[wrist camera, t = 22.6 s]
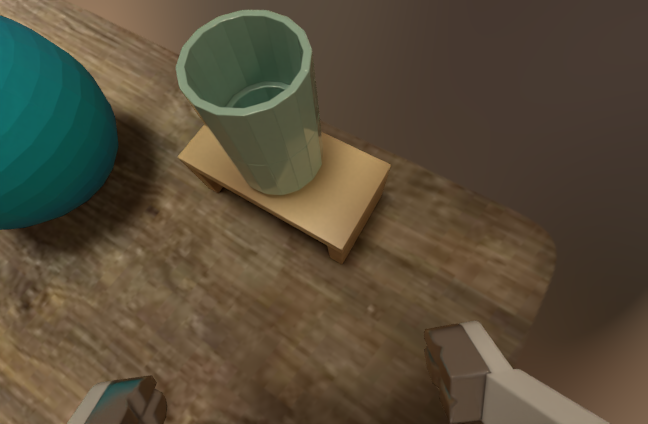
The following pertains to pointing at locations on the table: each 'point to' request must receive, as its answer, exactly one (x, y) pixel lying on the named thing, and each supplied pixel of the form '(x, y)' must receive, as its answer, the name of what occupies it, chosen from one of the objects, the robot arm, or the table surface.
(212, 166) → the shelf
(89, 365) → the table surface
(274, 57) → the sage green tumbler
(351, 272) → the table surface
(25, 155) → the decorative orb
